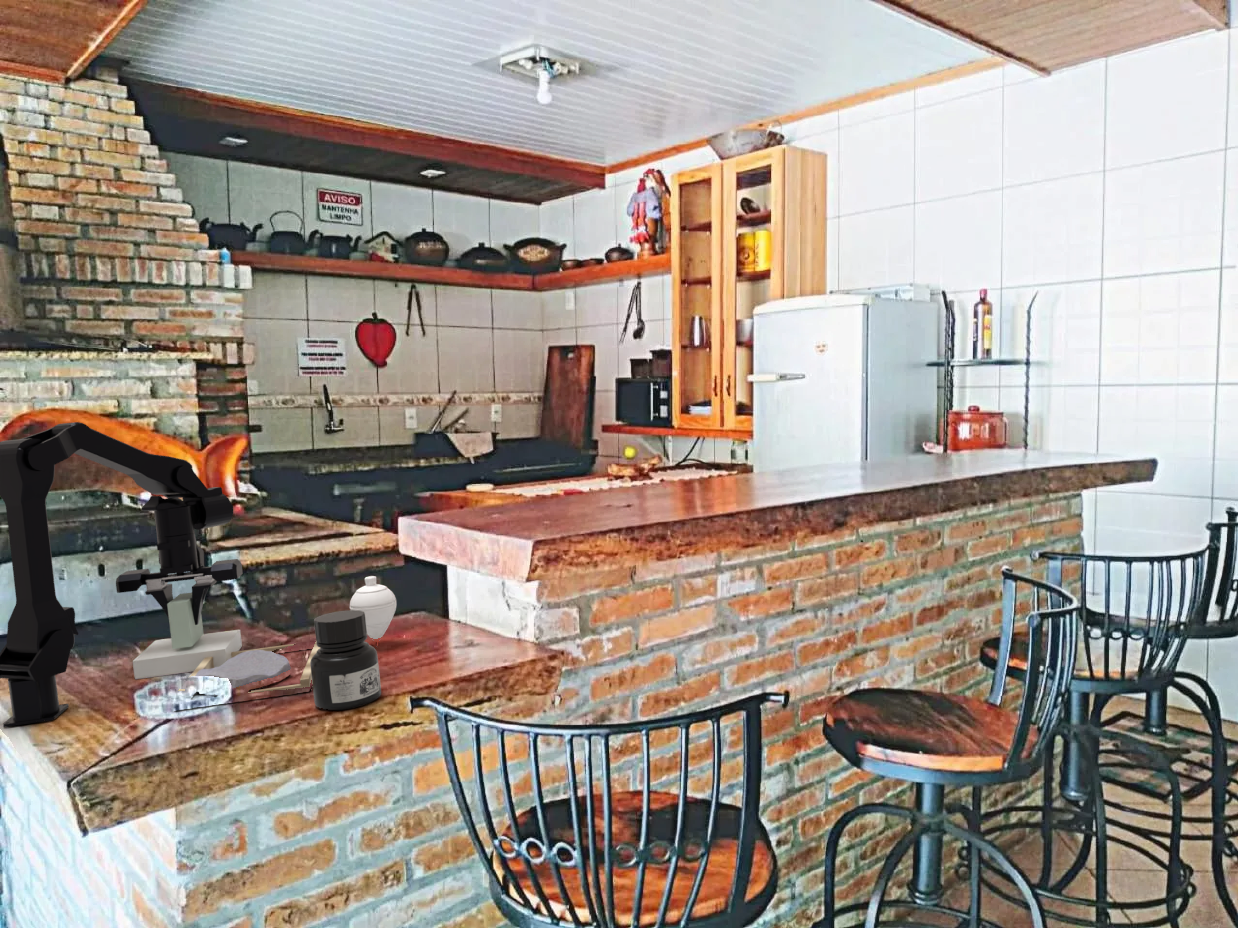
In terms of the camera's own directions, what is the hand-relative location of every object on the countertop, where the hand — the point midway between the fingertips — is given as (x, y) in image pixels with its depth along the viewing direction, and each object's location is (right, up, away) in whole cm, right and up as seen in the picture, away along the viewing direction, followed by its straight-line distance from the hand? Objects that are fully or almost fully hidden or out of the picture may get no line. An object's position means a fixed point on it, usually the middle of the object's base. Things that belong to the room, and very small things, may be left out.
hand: (186, 625), depth 159 cm
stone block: (+17, -7, -16) cm, 24 cm away
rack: (+17, -6, -12) cm, 21 cm away
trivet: (+1, -6, +1) cm, 6 cm away
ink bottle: (+36, -6, -29) cm, 46 cm away
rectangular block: (0, -3, 0) cm, 3 cm away
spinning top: (+32, -4, 0) cm, 32 cm away
